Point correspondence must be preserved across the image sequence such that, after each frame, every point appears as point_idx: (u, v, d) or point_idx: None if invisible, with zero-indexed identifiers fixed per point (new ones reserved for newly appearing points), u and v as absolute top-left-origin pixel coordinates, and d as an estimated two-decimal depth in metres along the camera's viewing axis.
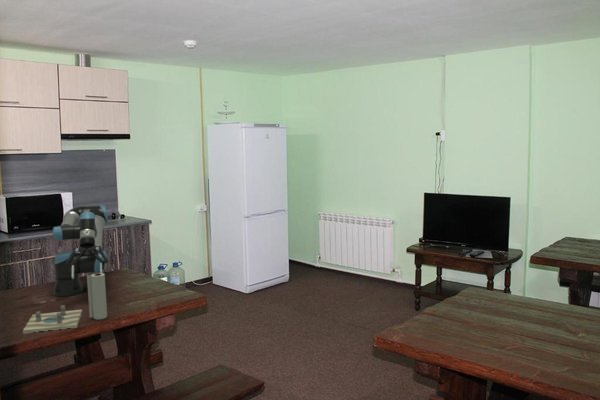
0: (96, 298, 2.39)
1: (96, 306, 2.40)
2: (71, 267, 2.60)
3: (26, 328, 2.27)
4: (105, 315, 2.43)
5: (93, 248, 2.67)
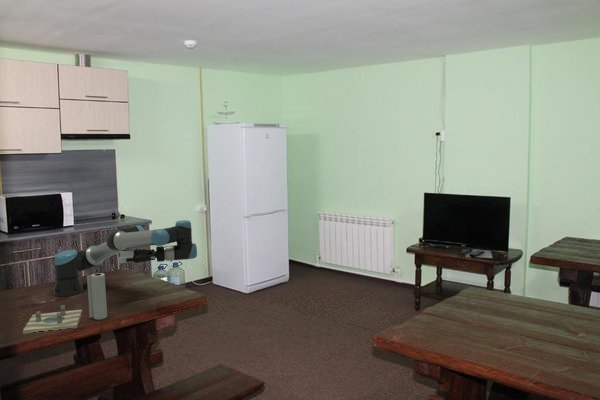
0: (96, 298, 2.39)
1: (96, 306, 2.40)
2: None
3: (26, 328, 2.27)
4: (105, 315, 2.43)
5: None
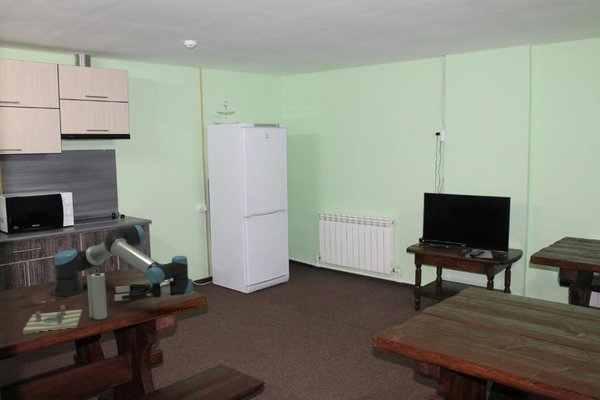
0: (96, 298, 2.39)
1: (96, 306, 2.40)
2: None
3: (26, 328, 2.27)
4: (105, 315, 2.43)
5: None
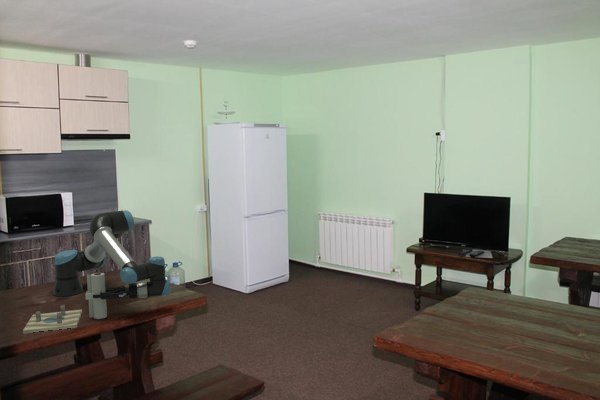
0: None
1: (96, 305, 2.40)
2: None
3: (26, 328, 2.27)
4: (105, 315, 2.43)
5: None
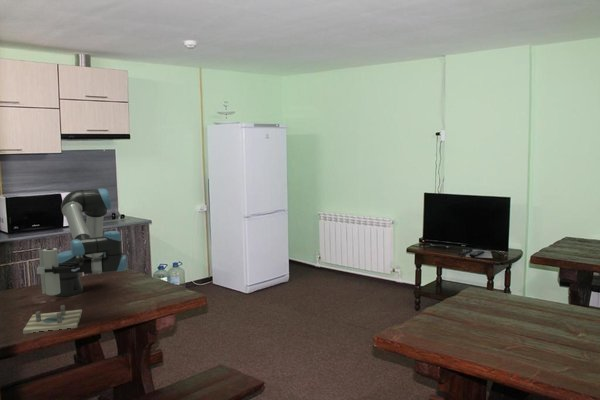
0: (48, 273, 2.32)
1: (48, 281, 2.33)
2: (50, 271, 2.33)
3: (26, 328, 2.27)
4: (58, 291, 2.35)
5: None
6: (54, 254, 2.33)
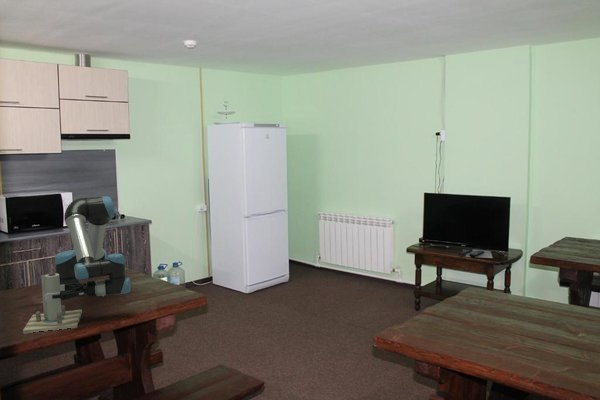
0: None
1: (49, 307, 2.34)
2: (57, 297, 2.30)
3: (26, 328, 2.27)
4: None
5: None
6: (56, 280, 2.34)
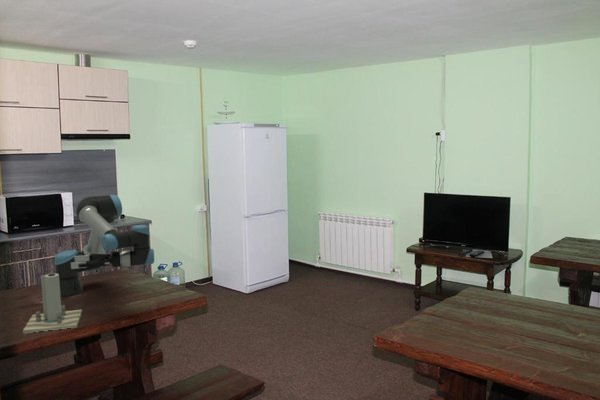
0: (49, 299, 2.34)
1: (49, 307, 2.34)
2: (84, 266, 2.32)
3: (26, 328, 2.27)
4: None
5: None
6: (55, 280, 2.34)
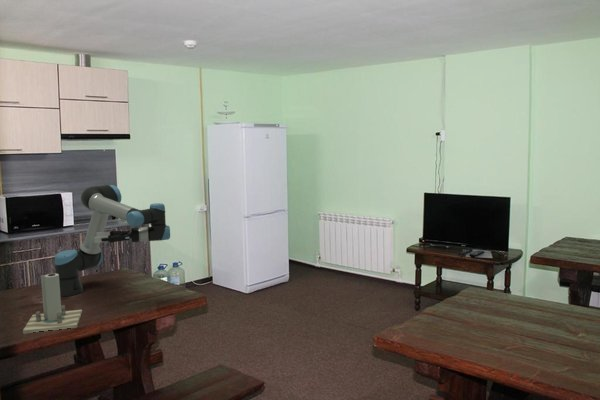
0: (49, 299, 2.34)
1: (49, 307, 2.34)
2: (106, 240, 2.51)
3: (26, 328, 2.27)
4: None
5: None
6: (55, 280, 2.34)
